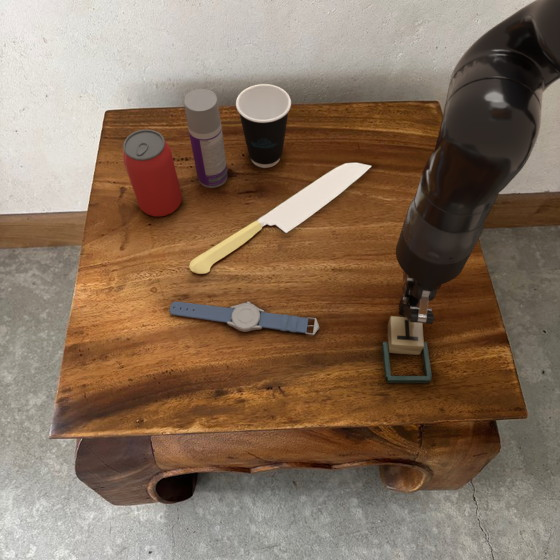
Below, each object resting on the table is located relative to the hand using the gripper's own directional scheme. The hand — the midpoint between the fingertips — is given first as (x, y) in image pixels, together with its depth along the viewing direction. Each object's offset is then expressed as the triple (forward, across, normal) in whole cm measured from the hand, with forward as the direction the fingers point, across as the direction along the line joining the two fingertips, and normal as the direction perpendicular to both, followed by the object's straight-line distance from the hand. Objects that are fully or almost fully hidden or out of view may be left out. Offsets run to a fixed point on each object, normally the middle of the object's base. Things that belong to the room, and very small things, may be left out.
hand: (406, 311), depth 71 cm
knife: (+2, +15, +18) cm, 23 cm away
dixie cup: (+2, +26, +22) cm, 35 cm away
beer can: (+2, +15, +37) cm, 40 cm away
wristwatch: (+2, -3, +21) cm, 21 cm away
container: (+2, +21, +30) cm, 37 cm away
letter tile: (+2, -3, 0) cm, 4 cm away
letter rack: (+2, -6, 0) cm, 7 cm away
